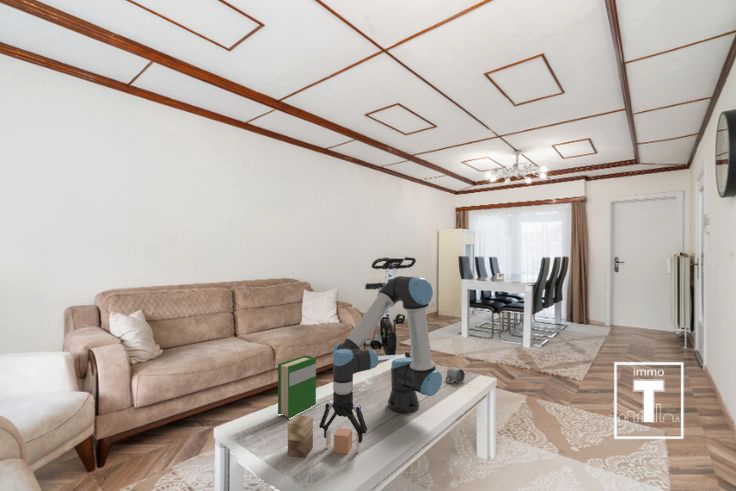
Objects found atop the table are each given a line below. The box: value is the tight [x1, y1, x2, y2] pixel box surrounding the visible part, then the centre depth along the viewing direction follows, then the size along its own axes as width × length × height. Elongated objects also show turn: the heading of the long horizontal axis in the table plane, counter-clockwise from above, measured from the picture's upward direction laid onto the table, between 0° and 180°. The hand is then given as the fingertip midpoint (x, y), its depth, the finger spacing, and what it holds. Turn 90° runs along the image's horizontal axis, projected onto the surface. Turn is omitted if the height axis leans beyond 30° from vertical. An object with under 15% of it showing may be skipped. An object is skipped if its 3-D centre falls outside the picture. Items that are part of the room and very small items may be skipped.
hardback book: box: [277, 354, 317, 419], centre depth 172 cm, size 18×7×24 cm, turn 146°
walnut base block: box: [287, 432, 314, 459], centre depth 136 cm, size 7×7×6 cm
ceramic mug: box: [445, 366, 466, 384], centre depth 211 cm, size 11×8×8 cm
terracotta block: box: [333, 427, 353, 455], centre depth 138 cm, size 6×6×6 cm
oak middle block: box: [287, 415, 314, 442], centre depth 137 cm, size 7×7×6 cm
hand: (343, 448), depth 138 cm, fingers open, 11 cm apart
